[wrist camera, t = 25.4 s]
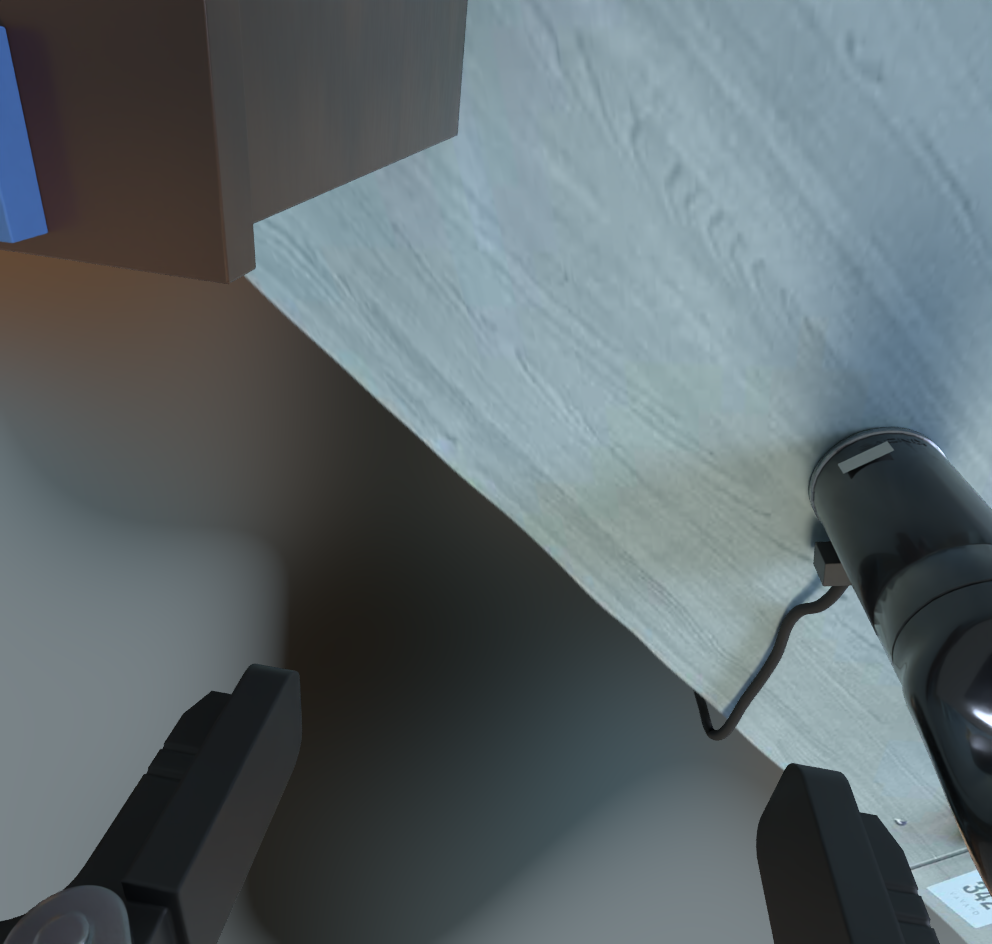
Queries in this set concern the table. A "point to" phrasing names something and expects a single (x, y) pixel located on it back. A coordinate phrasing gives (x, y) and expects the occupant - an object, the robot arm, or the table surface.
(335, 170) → the stool
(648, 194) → the table surface
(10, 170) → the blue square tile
